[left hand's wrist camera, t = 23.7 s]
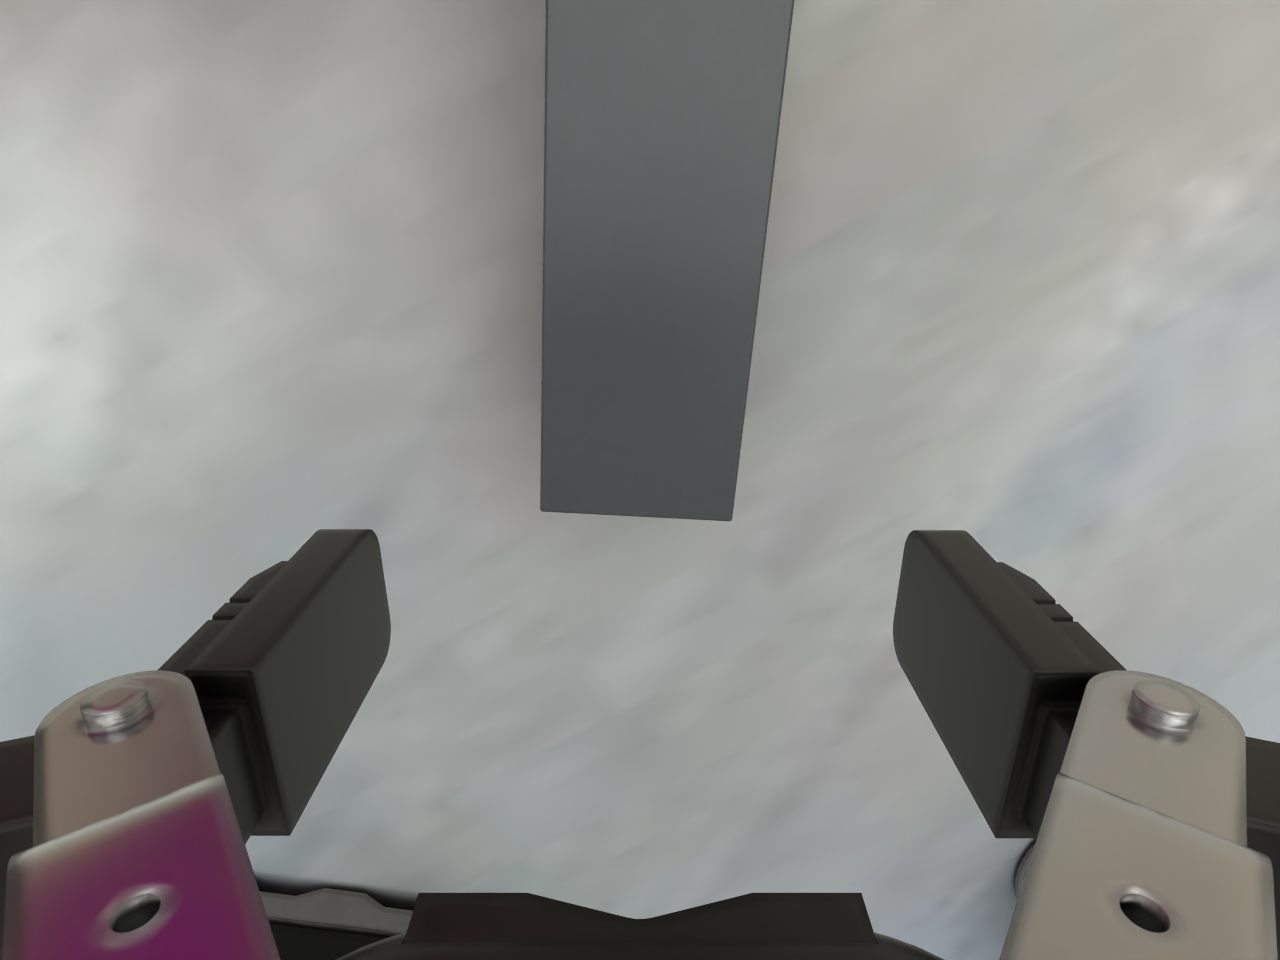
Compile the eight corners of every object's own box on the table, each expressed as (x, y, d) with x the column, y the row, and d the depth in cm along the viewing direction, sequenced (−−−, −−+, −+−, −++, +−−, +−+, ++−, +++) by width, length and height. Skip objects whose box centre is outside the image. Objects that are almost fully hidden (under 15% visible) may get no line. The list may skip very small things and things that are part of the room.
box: (703, 423, 31) (732, 522, 22) (567, 415, 31) (540, 512, 22) (784, -398, 22) (892, -815, 13) (588, -416, 21) (555, -853, 12)
